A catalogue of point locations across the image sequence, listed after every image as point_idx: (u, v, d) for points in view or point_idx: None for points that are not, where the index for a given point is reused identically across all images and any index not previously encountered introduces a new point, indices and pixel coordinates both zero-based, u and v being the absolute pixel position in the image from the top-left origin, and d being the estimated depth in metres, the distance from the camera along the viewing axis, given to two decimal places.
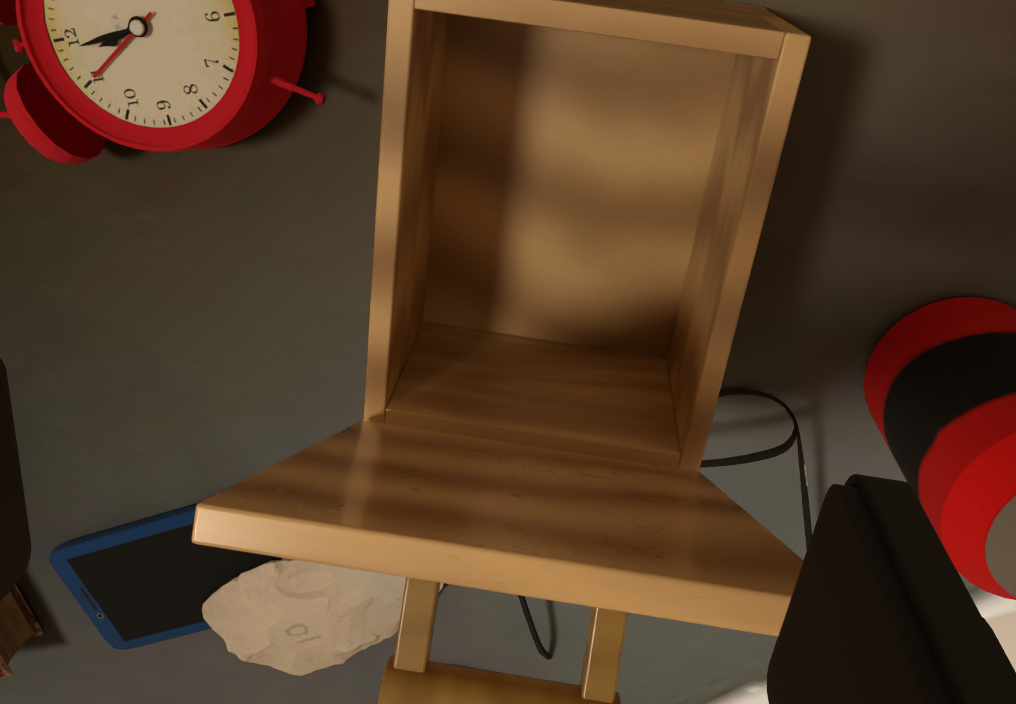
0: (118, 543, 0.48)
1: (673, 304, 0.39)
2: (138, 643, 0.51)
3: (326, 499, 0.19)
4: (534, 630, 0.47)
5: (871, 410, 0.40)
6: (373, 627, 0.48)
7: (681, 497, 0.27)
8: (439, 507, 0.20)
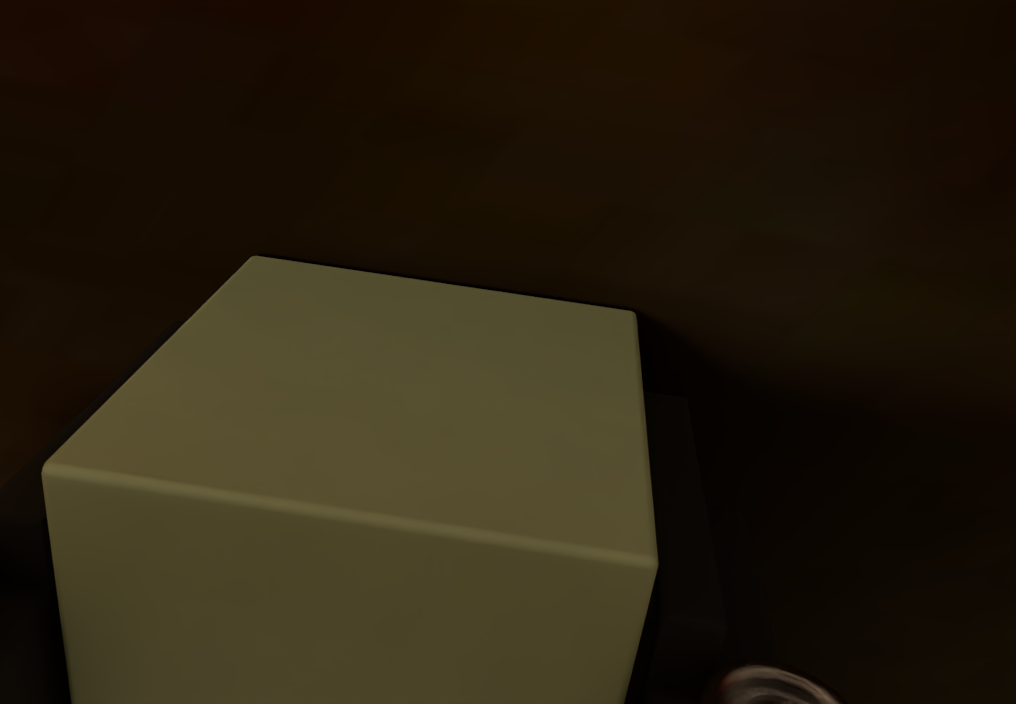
0: None
1: None
2: None
3: None
4: None
5: None
6: None
7: None
8: None
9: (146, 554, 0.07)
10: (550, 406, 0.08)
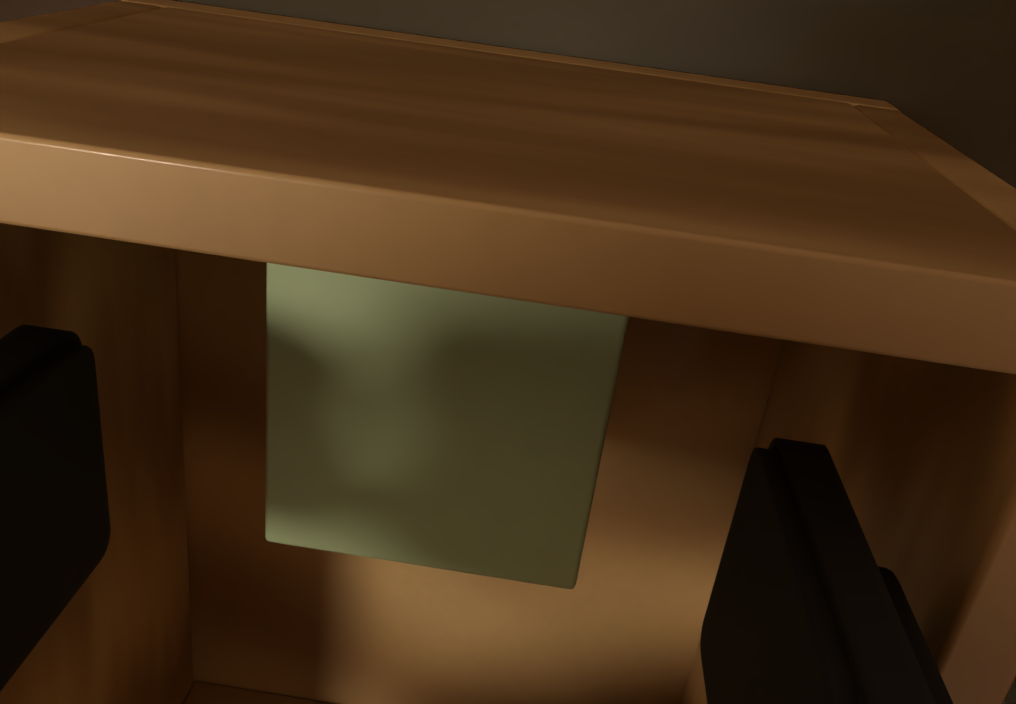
0: None
1: (677, 672, 0.20)
2: None
3: None
4: None
5: None
6: None
7: None
8: None
9: (325, 307, 0.12)
10: None
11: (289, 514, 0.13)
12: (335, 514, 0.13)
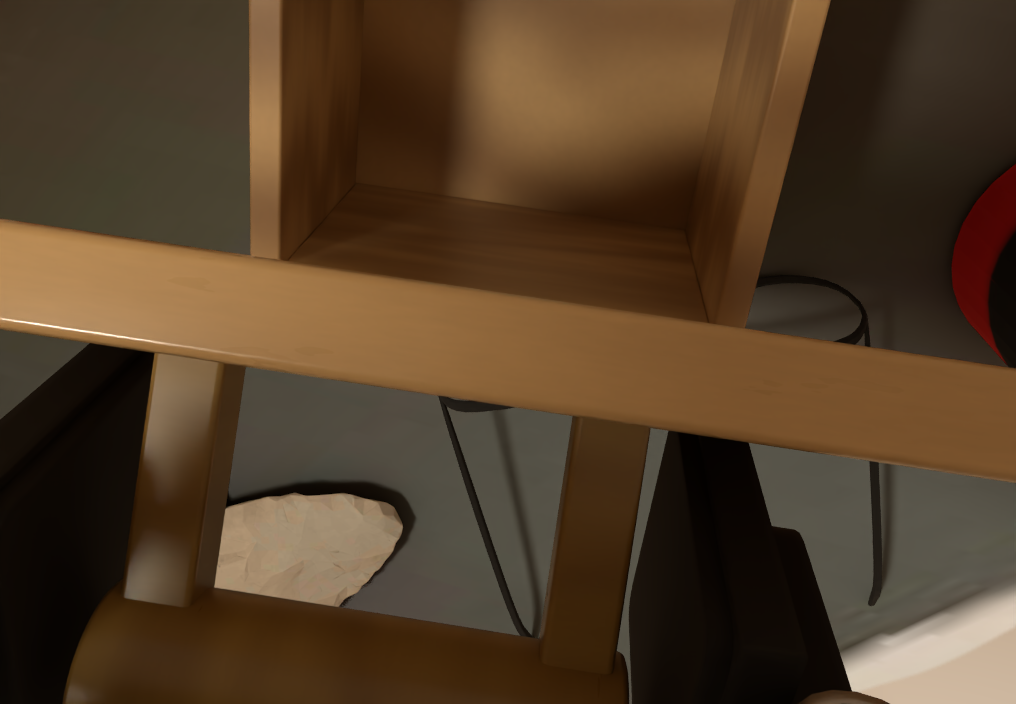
0: None
1: (694, 151, 0.29)
2: None
3: None
4: (511, 604, 0.36)
5: (963, 298, 0.29)
6: None
7: None
8: None
9: None
10: None
11: None
12: None
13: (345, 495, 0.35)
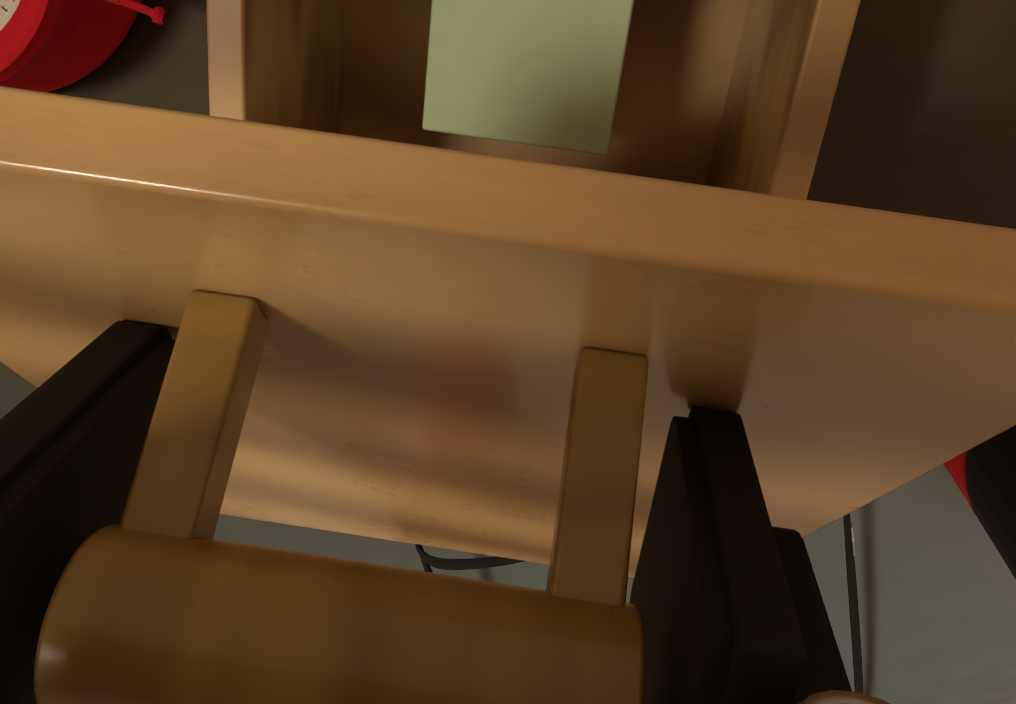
0: None
1: None
2: None
3: None
4: None
5: None
6: None
7: None
8: None
9: None
10: None
11: (438, 108, 0.22)
12: (466, 106, 0.22)
13: None
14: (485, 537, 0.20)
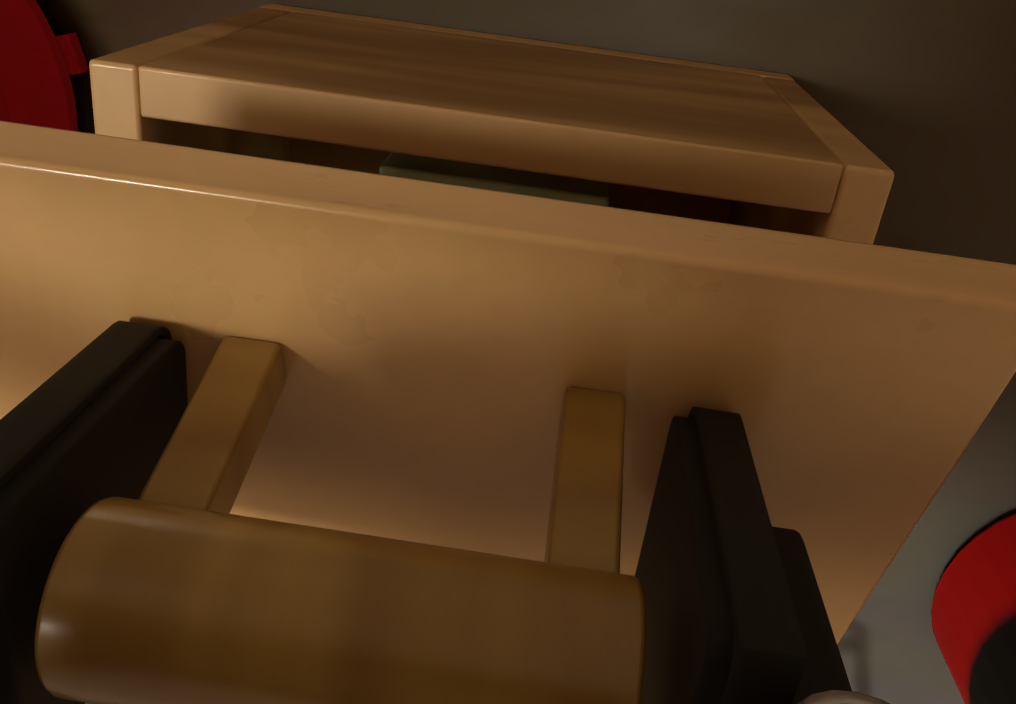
0: None
1: None
2: None
3: None
4: None
5: (944, 654, 0.27)
6: None
7: None
8: None
9: None
10: None
11: None
12: None
13: None
14: None
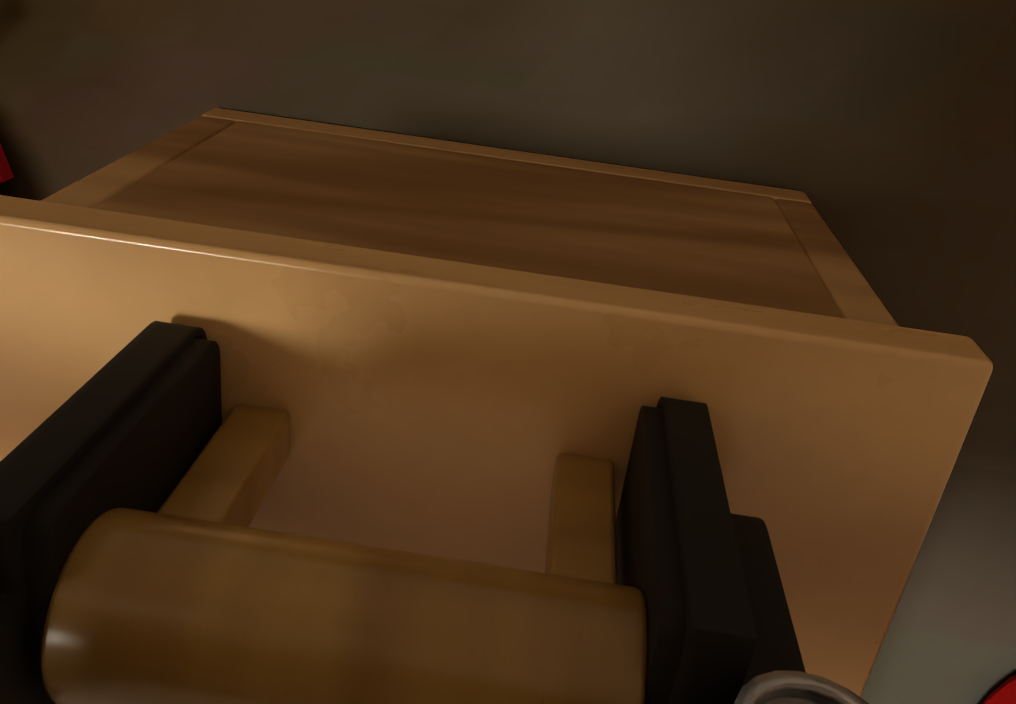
0: None
1: None
2: None
3: None
4: None
5: None
6: None
7: None
8: None
9: None
10: None
11: None
12: None
13: None
14: None
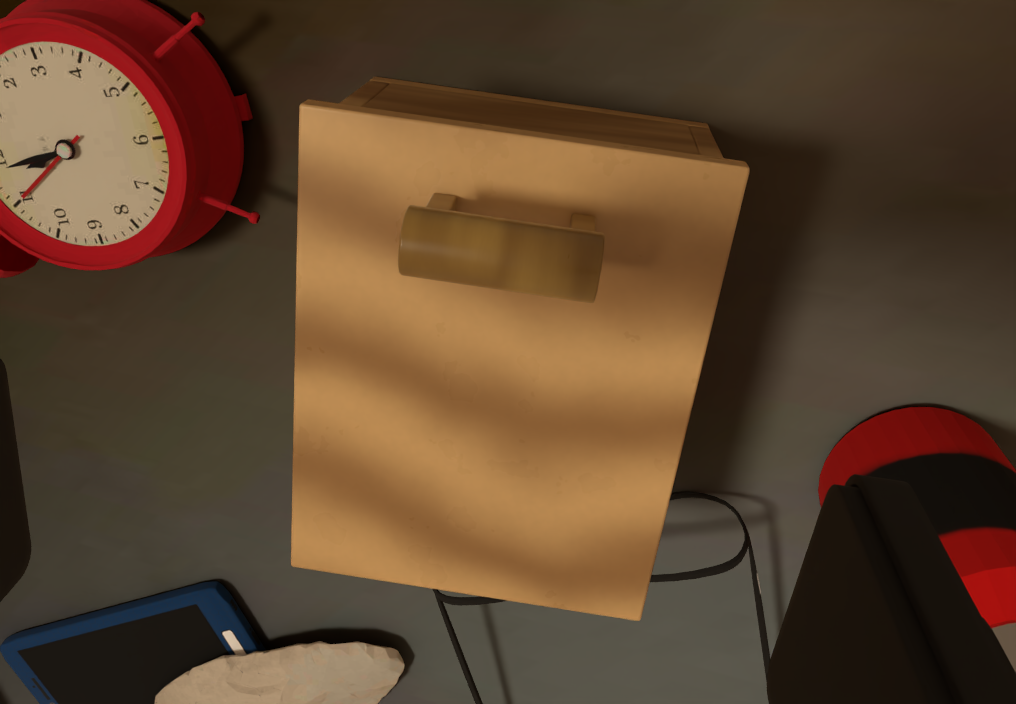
0: (69, 636, 0.47)
1: None
2: None
3: None
4: None
5: None
6: None
7: None
8: None
9: None
10: None
11: None
12: None
13: (359, 643, 0.45)
14: (492, 540, 0.31)
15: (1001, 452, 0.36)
